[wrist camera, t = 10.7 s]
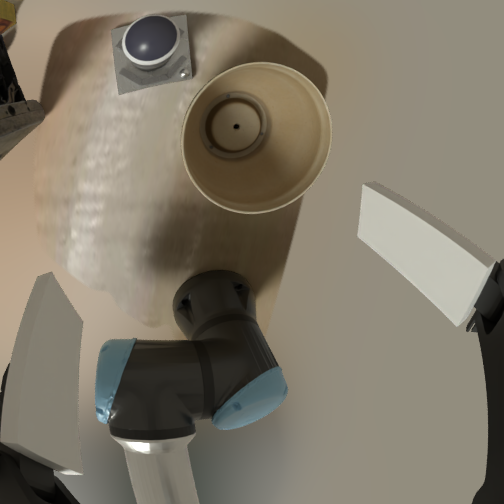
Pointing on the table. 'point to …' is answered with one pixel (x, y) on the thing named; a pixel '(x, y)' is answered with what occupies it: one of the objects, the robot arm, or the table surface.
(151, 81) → the mount
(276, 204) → the planter bowl
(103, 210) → the table surface
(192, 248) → the table surface
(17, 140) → the vintage camera
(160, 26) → the lens
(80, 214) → the table surface
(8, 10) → the candy box
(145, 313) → the table surface
